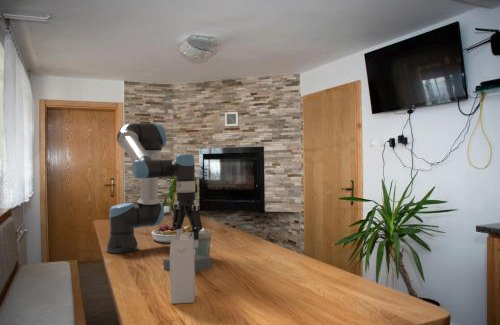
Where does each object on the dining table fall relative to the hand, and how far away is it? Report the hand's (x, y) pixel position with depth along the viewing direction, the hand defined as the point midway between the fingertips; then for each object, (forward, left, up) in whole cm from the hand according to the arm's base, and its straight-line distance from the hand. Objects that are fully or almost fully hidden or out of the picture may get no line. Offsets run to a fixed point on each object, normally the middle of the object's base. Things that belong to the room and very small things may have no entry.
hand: (187, 246), depth 158 cm
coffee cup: (-7, +14, -9) cm, 18 cm away
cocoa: (0, 0, -1) cm, 1 cm away
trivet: (0, 0, -9) cm, 9 cm away
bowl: (-55, +37, -10) cm, 67 cm away
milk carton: (+28, -24, -9) cm, 38 cm away
